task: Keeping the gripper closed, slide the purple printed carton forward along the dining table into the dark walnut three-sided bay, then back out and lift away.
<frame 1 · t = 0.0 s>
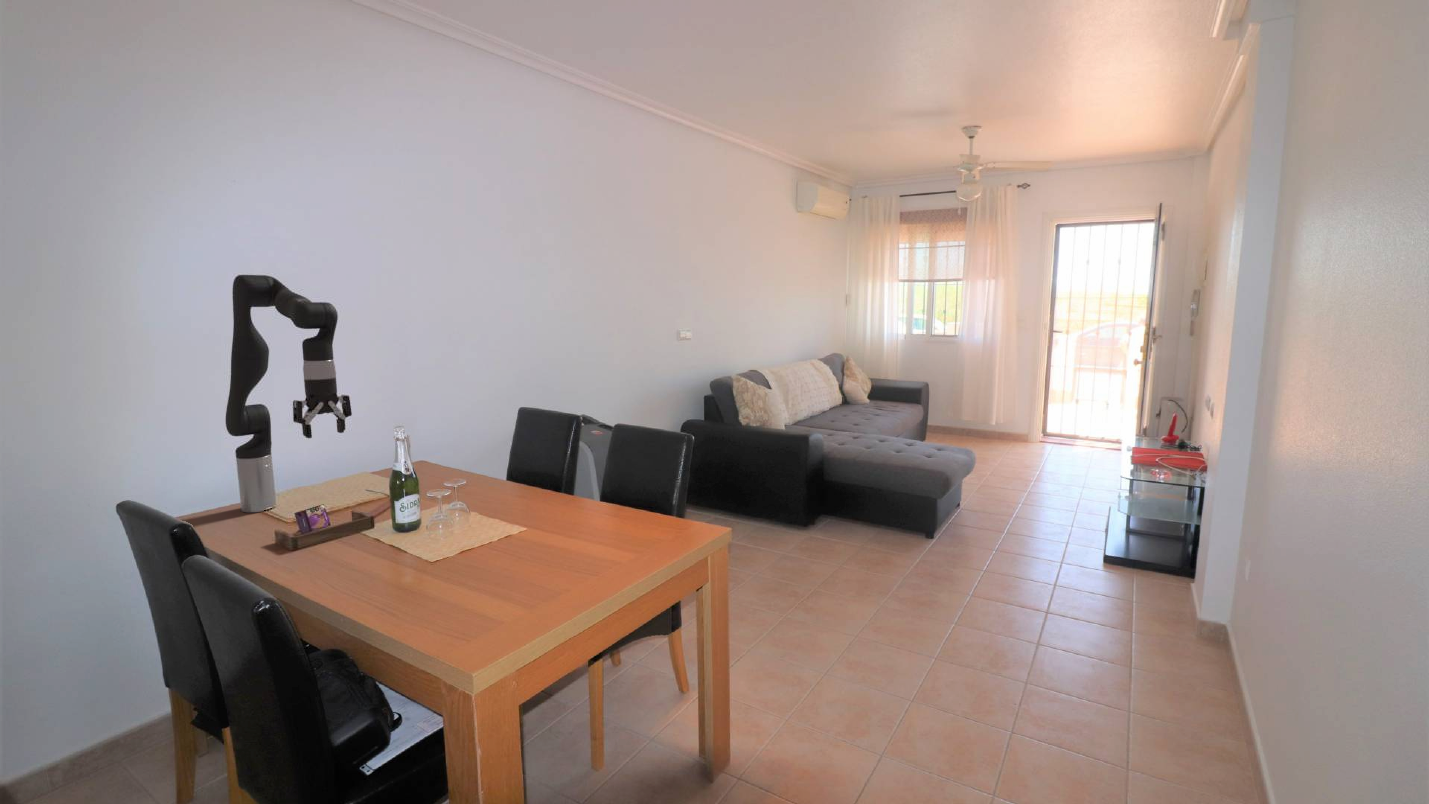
hand: (324, 435, 183), 29 cm above the table, tool pointing down, fingers open, 8 cm apart
purple printed carton: (311, 530, 194), on the table
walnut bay: (326, 534, 190), on the table
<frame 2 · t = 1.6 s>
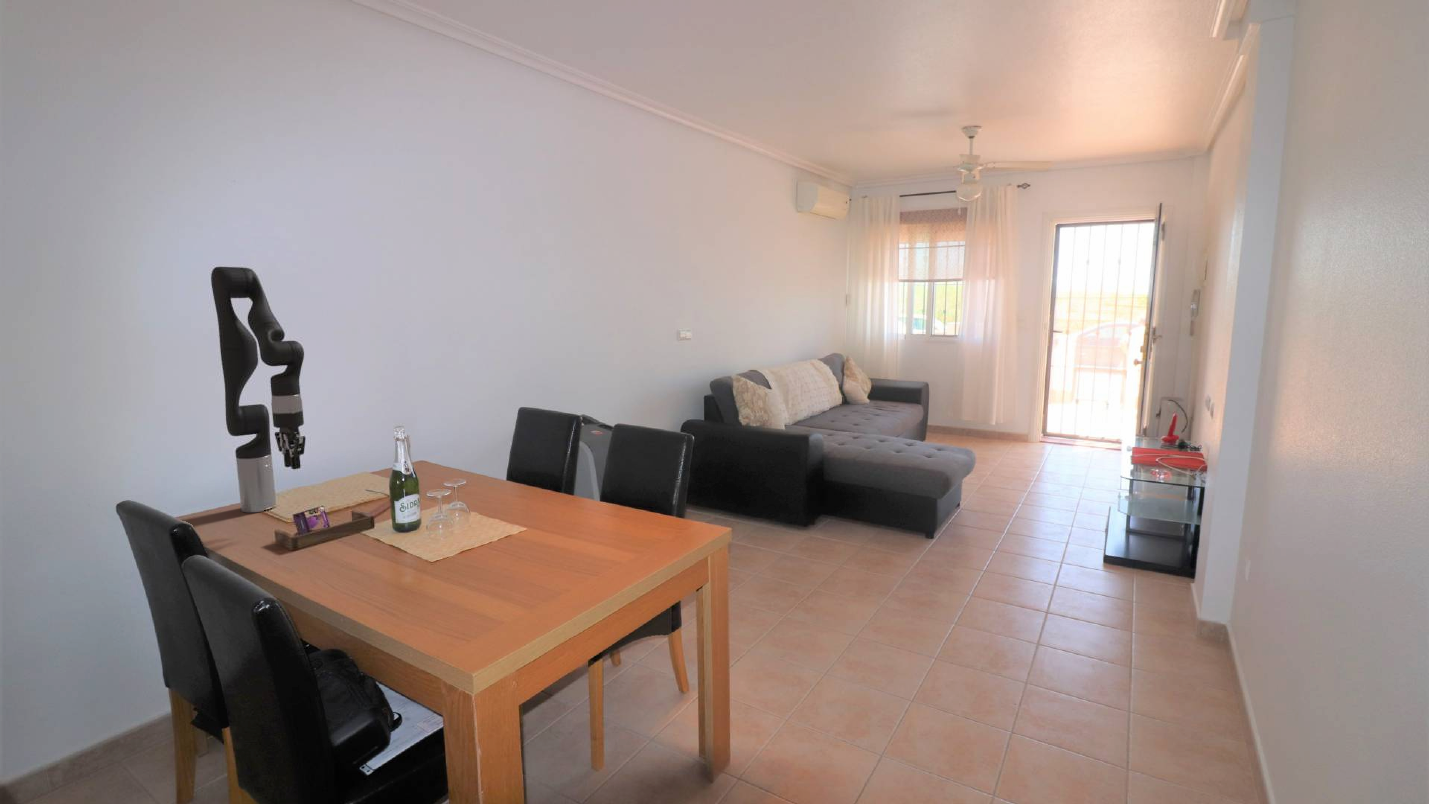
hand: (292, 467, 196), 17 cm above the table, tool pointing down, fingers open, 3 cm apart
purple printed carton: (310, 532, 193), on the table
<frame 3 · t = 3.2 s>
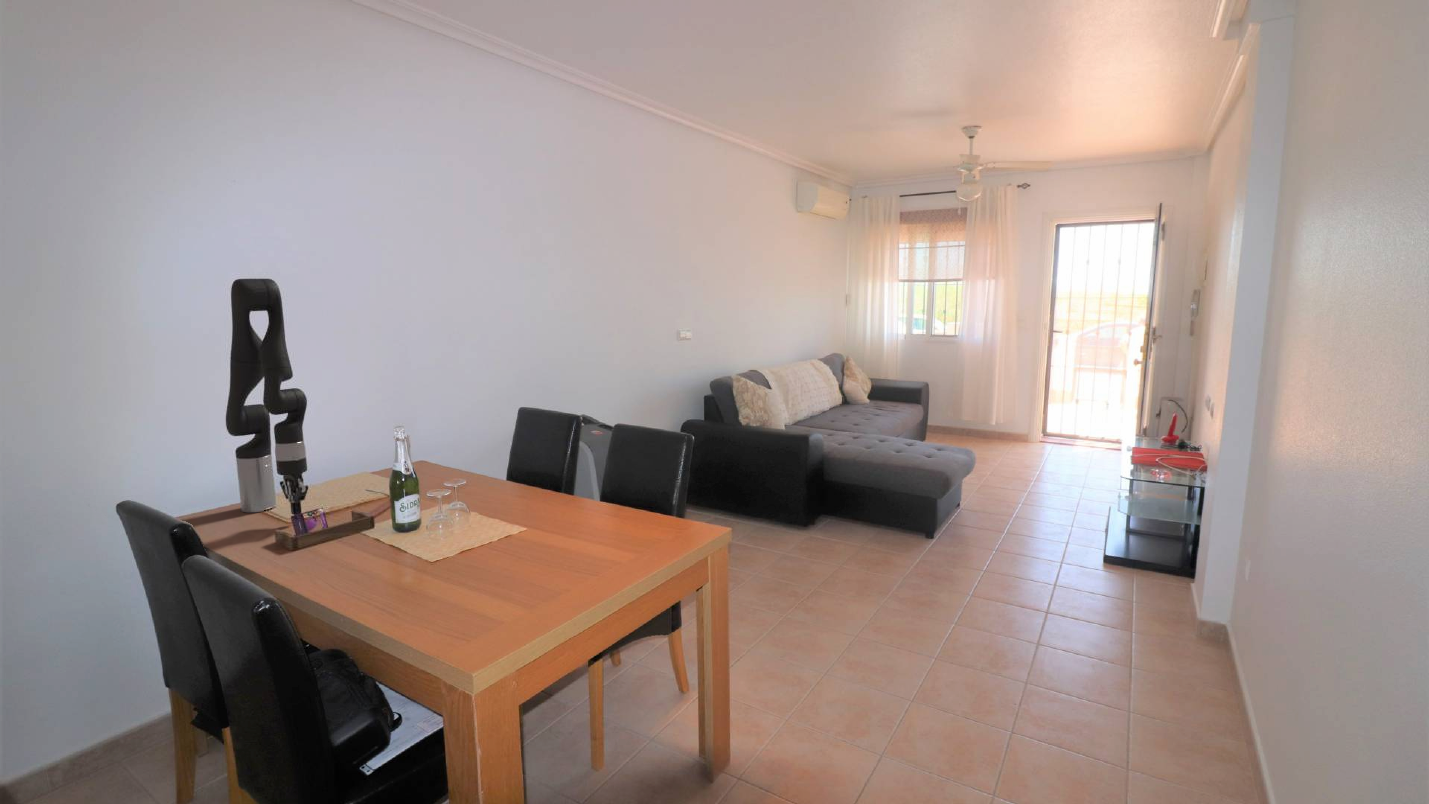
hand: (296, 514, 198), 3 cm above the table, tool pointing down, fingers closed
purple printed carton: (308, 534, 191), on the table
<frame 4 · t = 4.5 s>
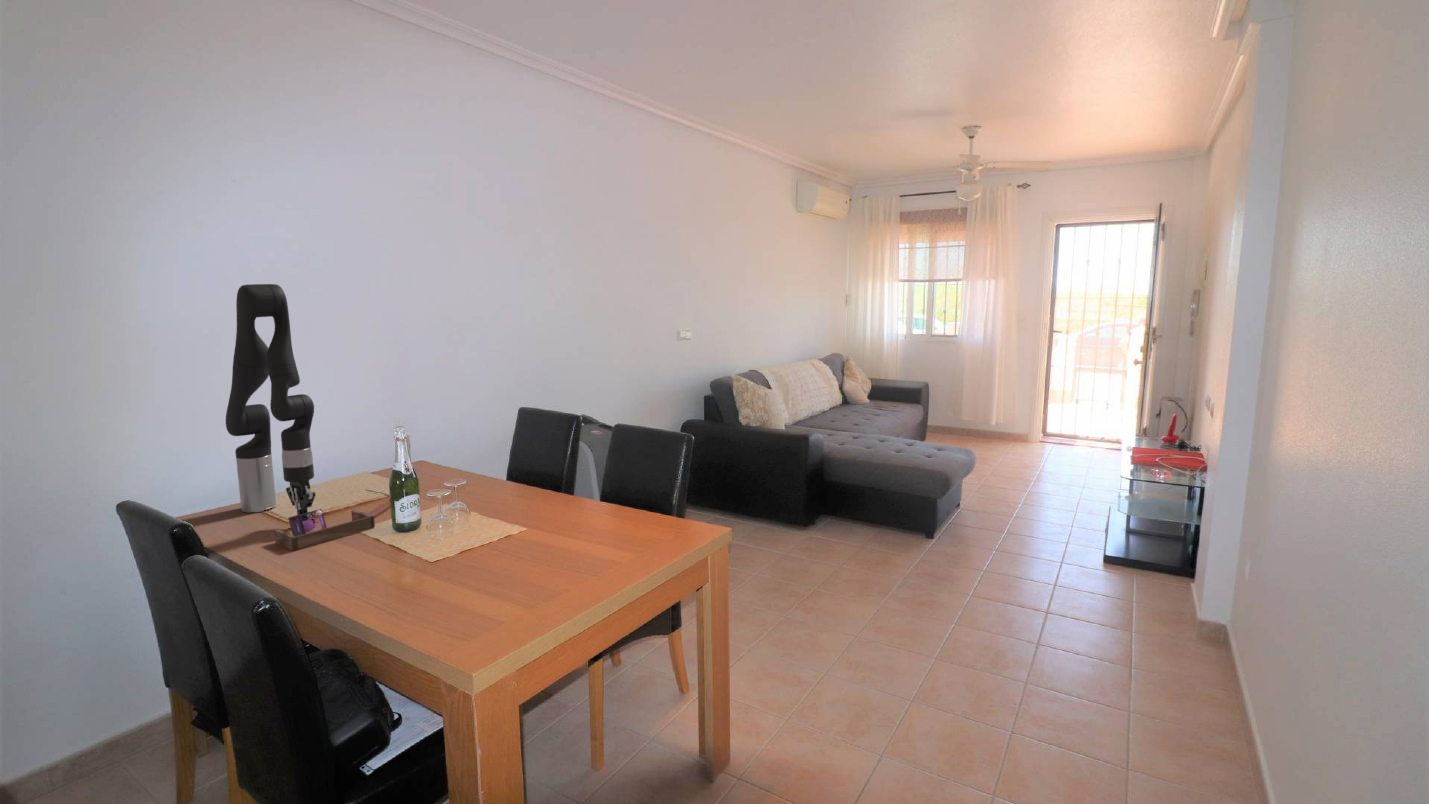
hand: (303, 520, 197), 2 cm above the table, tool pointing down, fingers closed
purple printed carton: (307, 535, 190), on the table
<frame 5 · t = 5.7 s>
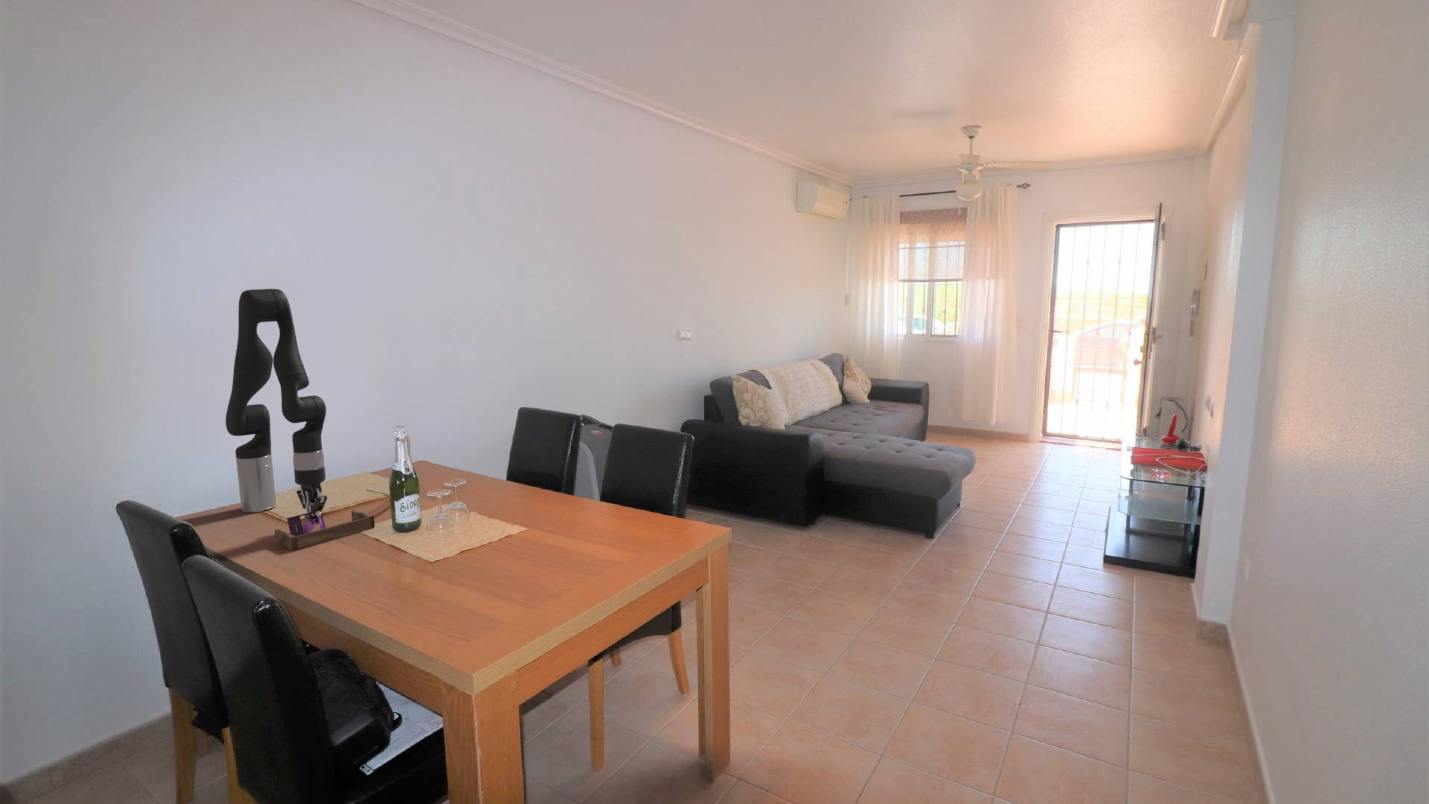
hand: (314, 524, 193), 2 cm above the table, tool pointing down, fingers closed
purple printed carton: (305, 536, 189), on the table, touching gripper, hand
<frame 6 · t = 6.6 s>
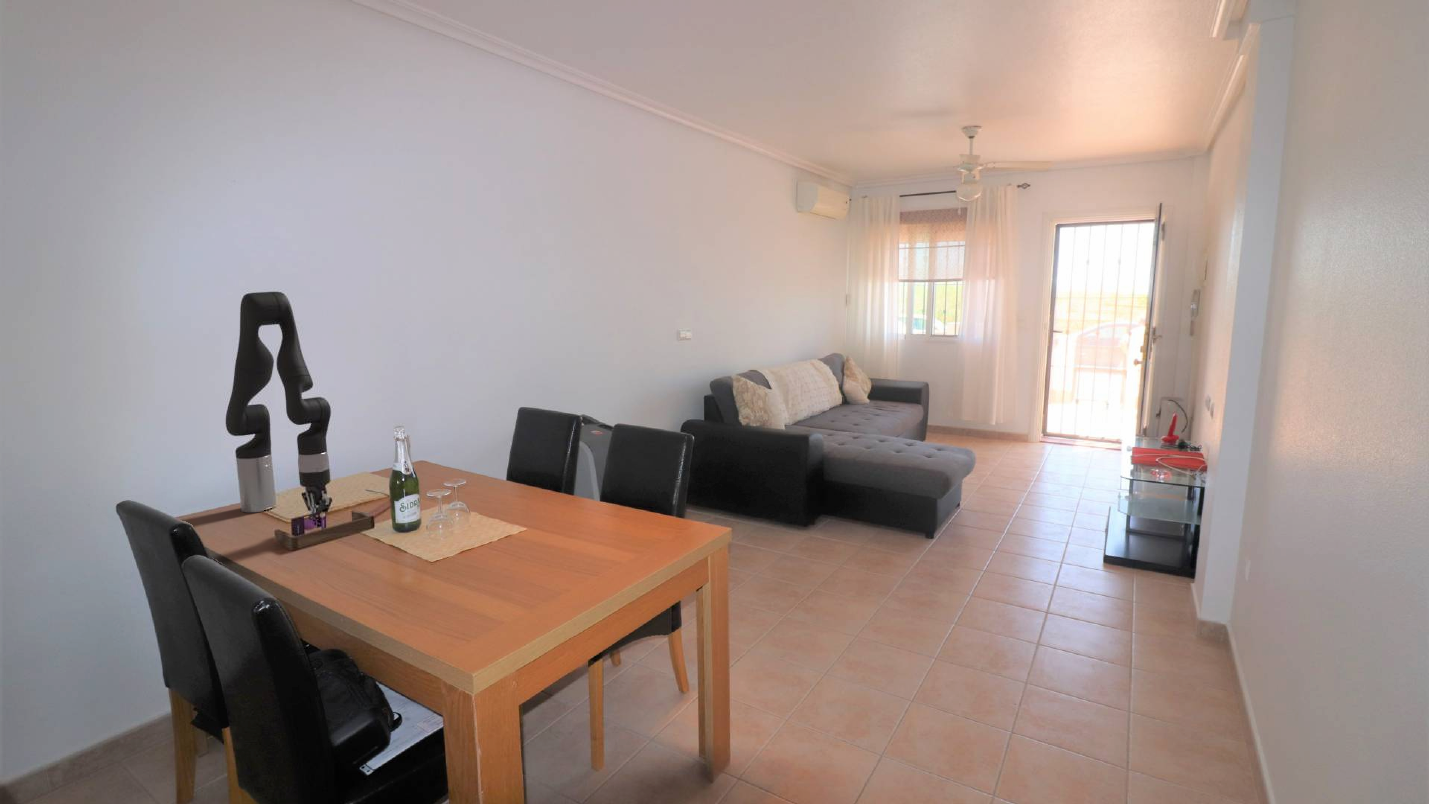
hand: (319, 526, 192), 2 cm above the table, tool pointing down, fingers closed
purple printed carton: (305, 533, 188), point 1 cm above the table, touching gripper
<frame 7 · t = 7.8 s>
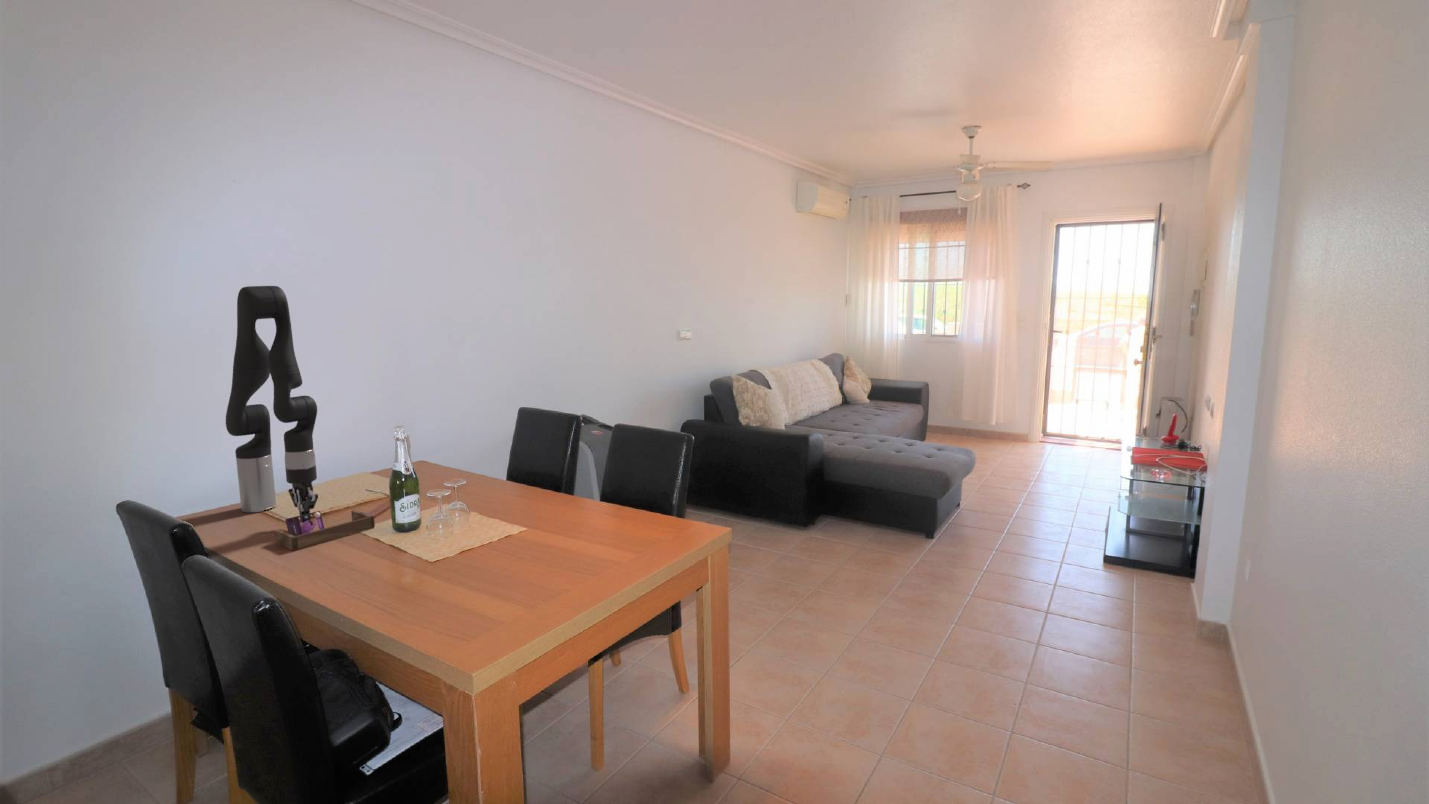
hand: (305, 522, 196), 1 cm above the table, tool pointing down, fingers closed
purple printed carton: (304, 537, 188), on the table
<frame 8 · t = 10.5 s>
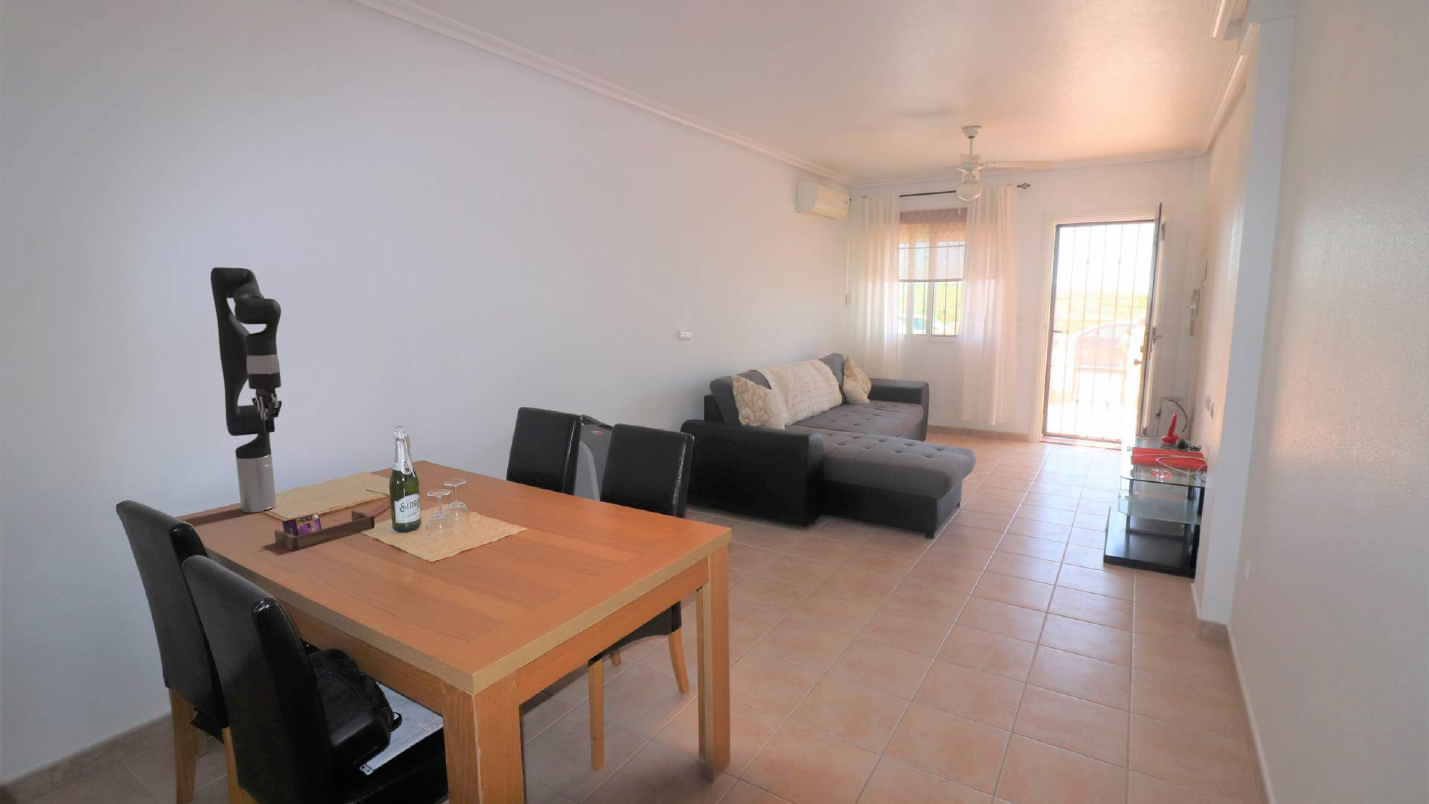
hand: (269, 432, 188), 29 cm above the table, tool pointing down, fingers closed
purple printed carton: (302, 540, 186), on the table
at the end: purple printed carton inside the target area (6.1 cm from its centre), on the table; purple printed carton tilted 0°; purple printed carton moved 8.6 cm from its start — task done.
